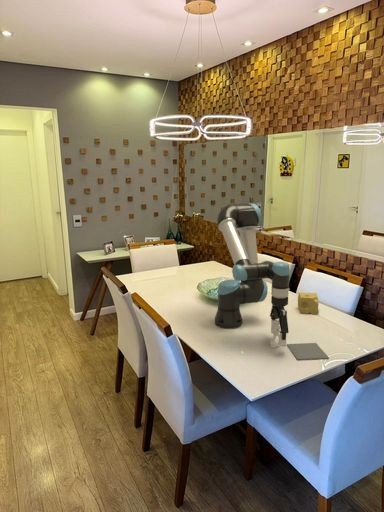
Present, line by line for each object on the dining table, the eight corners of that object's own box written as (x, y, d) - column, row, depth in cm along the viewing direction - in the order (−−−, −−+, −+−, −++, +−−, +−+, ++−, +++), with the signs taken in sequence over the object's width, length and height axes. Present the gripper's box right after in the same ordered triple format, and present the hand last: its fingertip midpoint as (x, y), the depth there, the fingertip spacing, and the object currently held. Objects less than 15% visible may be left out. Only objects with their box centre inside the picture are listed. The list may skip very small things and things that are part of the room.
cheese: (318, 315, 201) (319, 298, 199) (298, 313, 204) (299, 297, 201) (315, 308, 211) (316, 292, 209) (297, 307, 213) (298, 291, 211)
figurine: (267, 345, 166) (268, 321, 163) (280, 340, 171) (281, 317, 169) (274, 349, 162) (275, 325, 160) (288, 343, 167) (289, 320, 165)
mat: (297, 360, 152) (297, 359, 152) (286, 345, 166) (286, 344, 166) (328, 358, 153) (329, 357, 153) (315, 344, 167) (315, 342, 167)
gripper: (297, 305, 149) (295, 351, 154) (279, 287, 174) (278, 327, 178) (280, 305, 149) (278, 351, 154) (264, 287, 173) (263, 328, 178)
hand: (278, 338), depth 166 cm, fingers open, 13 cm apart
